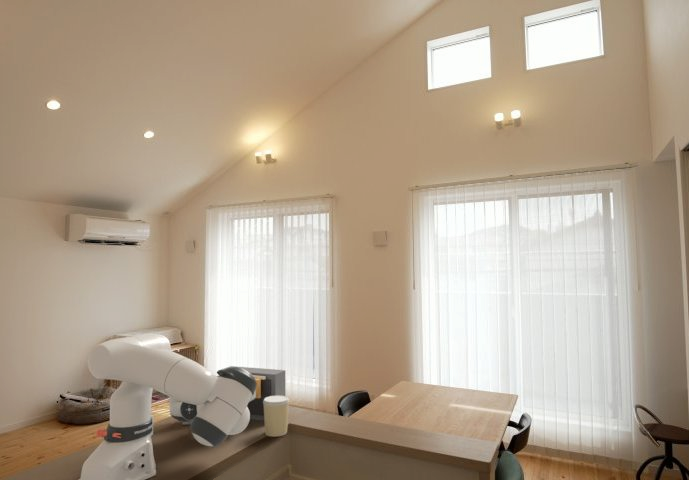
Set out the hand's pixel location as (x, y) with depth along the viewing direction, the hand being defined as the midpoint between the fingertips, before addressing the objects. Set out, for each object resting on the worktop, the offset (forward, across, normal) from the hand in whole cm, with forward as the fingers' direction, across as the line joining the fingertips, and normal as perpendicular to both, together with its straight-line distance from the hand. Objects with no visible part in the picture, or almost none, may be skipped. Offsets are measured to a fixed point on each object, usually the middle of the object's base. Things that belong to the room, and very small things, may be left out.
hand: (241, 387), depth 176 cm
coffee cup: (-6, +19, -13) cm, 24 cm away
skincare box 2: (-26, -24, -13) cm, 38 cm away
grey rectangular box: (+8, 0, -13) cm, 15 cm away
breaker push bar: (+2, 0, -3) cm, 4 cm away
